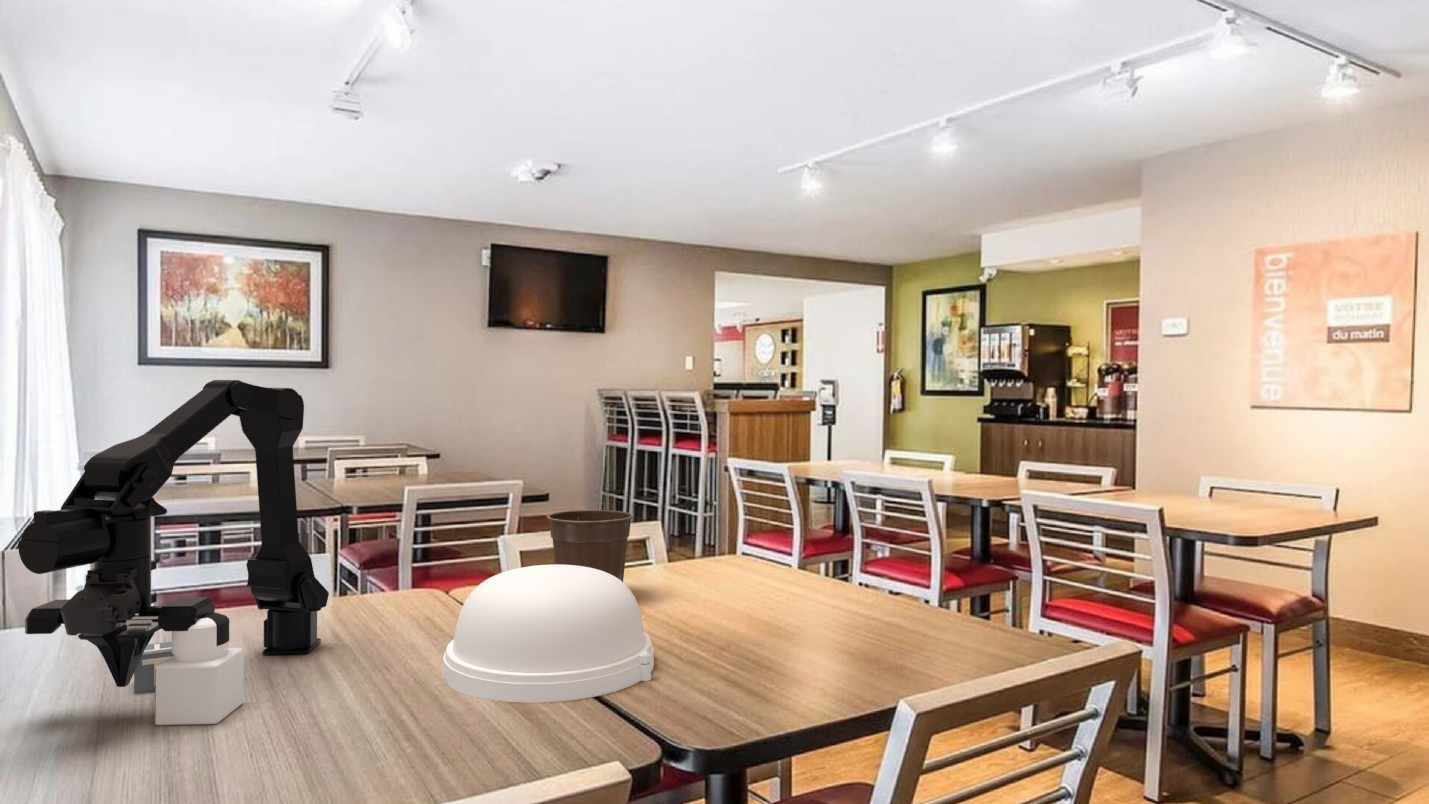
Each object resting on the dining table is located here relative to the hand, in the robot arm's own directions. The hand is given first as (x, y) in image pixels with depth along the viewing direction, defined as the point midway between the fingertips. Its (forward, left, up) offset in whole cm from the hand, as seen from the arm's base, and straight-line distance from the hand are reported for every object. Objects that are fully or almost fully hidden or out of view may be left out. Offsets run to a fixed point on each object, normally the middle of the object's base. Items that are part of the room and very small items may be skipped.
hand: (123, 686), depth 105 cm
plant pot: (-54, -54, -4) cm, 77 cm away
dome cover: (-50, -15, -4) cm, 52 cm away
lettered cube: (+2, -11, -4) cm, 12 cm away
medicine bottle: (-9, 0, -4) cm, 10 cm away
